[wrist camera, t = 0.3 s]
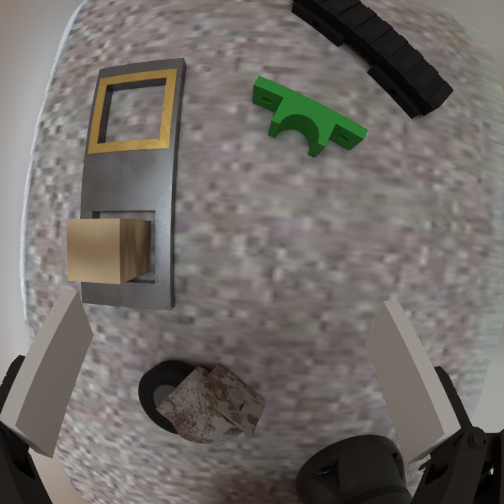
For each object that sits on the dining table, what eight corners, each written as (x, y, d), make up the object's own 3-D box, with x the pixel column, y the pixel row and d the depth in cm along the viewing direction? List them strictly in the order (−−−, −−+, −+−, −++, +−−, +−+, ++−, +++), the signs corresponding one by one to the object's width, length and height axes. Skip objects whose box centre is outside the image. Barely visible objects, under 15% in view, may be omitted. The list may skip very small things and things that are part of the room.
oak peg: (150, 270, 30) (120, 284, 22) (107, 268, 30) (68, 280, 22) (150, 221, 29) (119, 218, 21) (107, 221, 29) (67, 219, 21)
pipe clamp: (241, 123, 29) (240, 106, 25) (256, 95, 29) (258, 75, 24) (339, 172, 30) (354, 162, 25) (352, 142, 29) (368, 129, 25)
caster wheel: (147, 380, 33) (191, 328, 31) (214, 441, 32) (269, 399, 30) (115, 403, 27) (160, 348, 25) (194, 474, 25) (255, 434, 23)
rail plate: (174, 305, 30) (170, 310, 28) (89, 299, 30) (81, 303, 28) (186, 65, 28) (183, 57, 26) (105, 75, 28) (99, 68, 26)
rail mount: (437, 98, 29) (459, 84, 24) (413, 124, 30) (436, 110, 25) (316, -10, 28) (323, -33, 23) (283, 8, 28) (288, -17, 23)
